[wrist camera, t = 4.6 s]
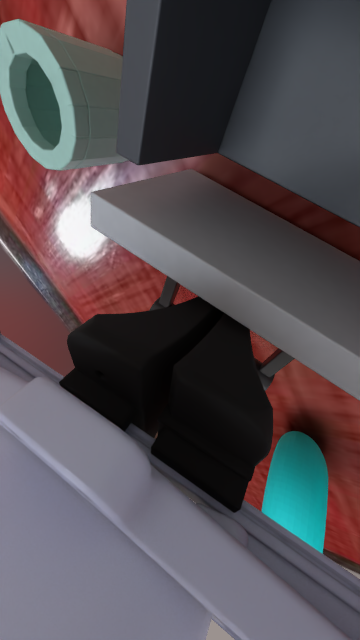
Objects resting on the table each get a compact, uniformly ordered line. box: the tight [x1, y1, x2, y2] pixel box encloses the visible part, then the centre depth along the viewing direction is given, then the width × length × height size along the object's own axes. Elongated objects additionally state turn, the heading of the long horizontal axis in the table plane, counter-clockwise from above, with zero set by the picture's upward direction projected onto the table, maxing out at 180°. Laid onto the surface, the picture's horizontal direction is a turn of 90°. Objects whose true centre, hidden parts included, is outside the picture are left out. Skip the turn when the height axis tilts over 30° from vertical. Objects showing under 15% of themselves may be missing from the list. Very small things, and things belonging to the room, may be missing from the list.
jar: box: [0, 19, 128, 171], centre depth 11 cm, size 4×5×5 cm
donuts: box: [262, 431, 328, 554], centre depth 16 cm, size 10×10×10 cm
